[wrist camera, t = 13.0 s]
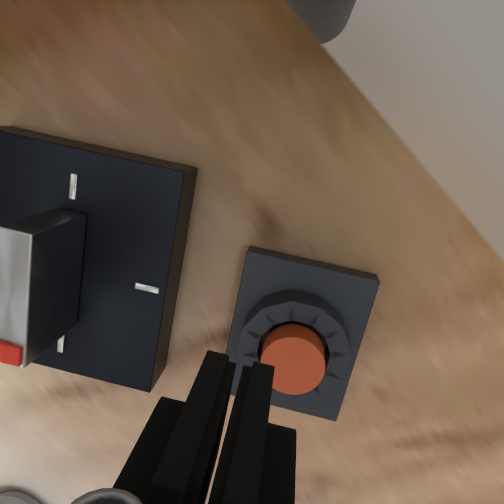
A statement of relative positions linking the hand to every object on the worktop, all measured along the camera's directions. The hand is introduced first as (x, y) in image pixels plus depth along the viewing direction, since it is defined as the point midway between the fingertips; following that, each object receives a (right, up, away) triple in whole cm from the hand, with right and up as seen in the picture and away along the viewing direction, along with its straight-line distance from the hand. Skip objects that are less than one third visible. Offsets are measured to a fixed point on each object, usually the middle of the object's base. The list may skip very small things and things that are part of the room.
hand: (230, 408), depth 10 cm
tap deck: (-10, +4, +17) cm, 20 cm away
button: (+3, -2, +15) cm, 15 cm away
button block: (+3, -1, +17) cm, 17 cm away
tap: (-10, +3, +14) cm, 18 cm away
